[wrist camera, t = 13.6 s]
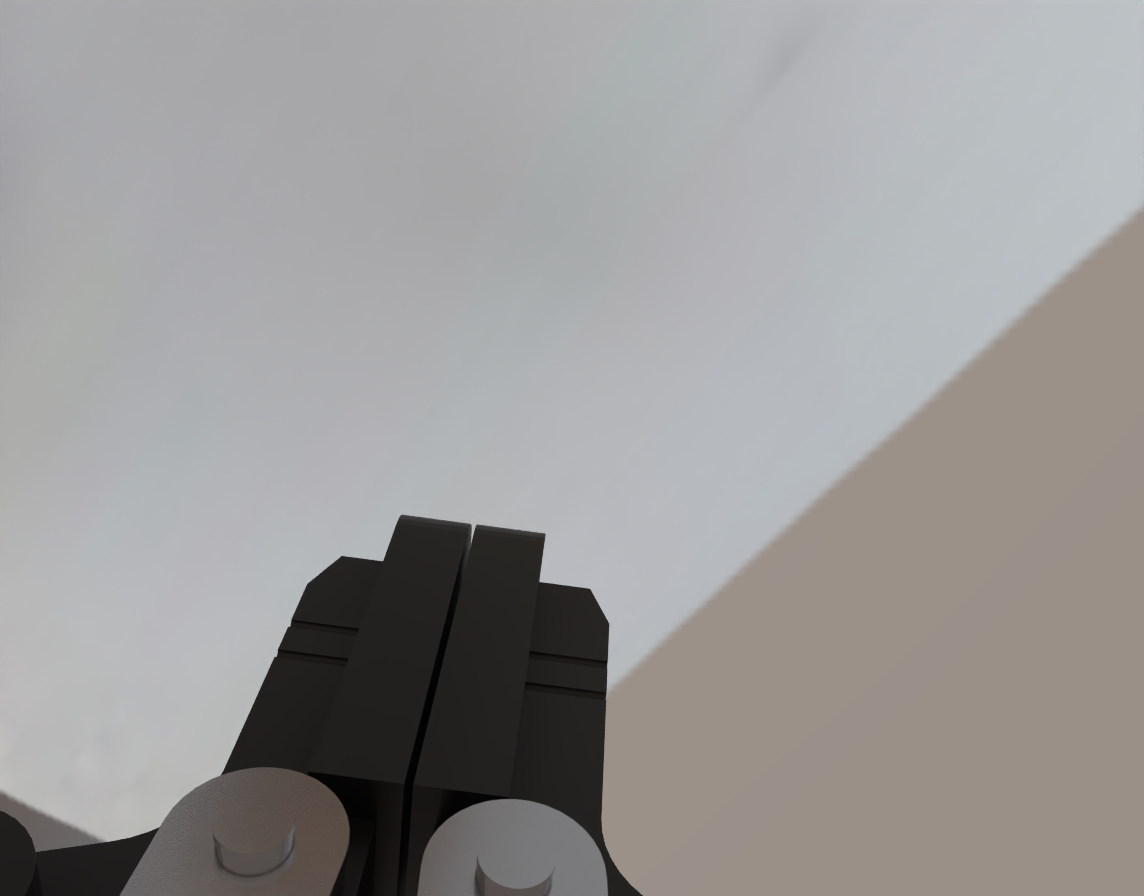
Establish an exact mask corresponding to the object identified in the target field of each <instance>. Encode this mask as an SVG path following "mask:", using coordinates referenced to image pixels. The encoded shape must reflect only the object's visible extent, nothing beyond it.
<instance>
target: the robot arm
mask: <svg viewBox="0 0 1144 896" xmlns="http://www.w3.org/2000/svg"><path fill="white" fill-rule="evenodd" d="M471 530H472V528H471V524H467V523H460V522H453V521H445V520H438V519H430V518H423V517H415V516H408V515H401V516H400V517H399V519H398V522H397V524H396V527H395V530H394V533H393V535H392V538H391V541H390V544H389V547H388V549H387V552H386V555H385V558H384V561H375V560H368V559H361V558H353V557H346V556H341V557H340V558H339V559H338V560H336V561H335V562H334V563H333V564H331V565H330V566H329V567H328V568H326V569H325V570H324V571H323V572H322V573H320V574H319V575H318V576H317V577H315V578H314V579H313V580H312V581H311V582H309V583H308V584H307V586H306V588H305V591H304V593H303V595H302V597H301V600H300V602H299V604H298V606H297V608H296V611H295V613H294V615H293V617H292V620H291V626H290V627H288V628H287V631H286V633H285V635H284V637H283V640H282V642H281V644H280V646H279V648H278V654H277V657H274V660H273V662H272V664H271V666H270V668H269V671H268V673H267V675H266V677H265V680H264V682H263V684H262V686H261V688H260V691H259V693H258V695H257V697H256V700H255V702H254V704H253V706H252V709H251V711H250V713H249V715H248V717H247V720H246V722H245V724H244V726H243V729H242V731H241V733H240V735H239V737H238V740H237V742H236V744H235V746H234V749H233V751H232V753H231V755H230V757H229V760H228V762H227V764H226V766H225V769H224V771H223V772H222V774H221V776H218V777H216V778H213V779H211V780H209V781H207V782H205V783H204V784H202V785H200V786H198V787H196V788H195V789H194V790H192V791H191V792H190V793H188V794H187V795H186V796H184V797H183V798H182V799H181V800H180V801H179V802H178V803H177V804H176V805H175V806H174V807H173V808H172V810H171V811H170V813H169V814H168V815H167V817H166V818H165V820H164V821H163V823H162V825H161V826H160V827H159V828H157V829H154V830H152V831H150V832H147V833H144V834H140V835H137V836H134V837H131V838H126V839H121V840H116V841H111V842H104V843H97V844H90V845H83V846H76V847H69V848H62V849H55V850H47V851H40V852H35V848H34V845H33V841H32V838H31V837H30V835H29V834H28V832H27V830H26V829H25V827H24V826H22V825H21V824H20V823H19V822H18V821H17V820H16V819H15V818H13V817H11V816H10V815H8V814H6V813H5V812H2V811H0V896H643V895H641V894H640V893H639V892H638V891H637V890H636V889H635V888H634V887H632V886H631V885H630V884H629V883H628V881H627V880H626V879H625V878H624V877H623V876H622V874H621V873H620V872H619V870H618V869H617V867H616V866H615V864H614V863H613V861H612V859H611V857H610V855H609V853H608V851H607V848H606V846H605V842H604V838H603V834H602V822H601V813H602V787H603V764H604V763H603V762H604V738H605V715H606V690H607V662H608V640H609V623H608V621H607V619H606V617H605V615H604V613H603V612H602V610H601V608H600V606H599V604H598V602H597V601H596V599H595V597H594V595H593V593H592V591H591V590H590V589H587V588H580V587H572V586H565V585H557V584H550V583H542V582H539V579H540V572H541V564H542V557H543V549H544V542H545V534H544V533H537V532H529V531H522V530H514V529H507V528H499V527H492V526H484V525H476V528H475V531H474V535H473V539H472V543H471ZM470 546H471V548H470Z"/></svg>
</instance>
